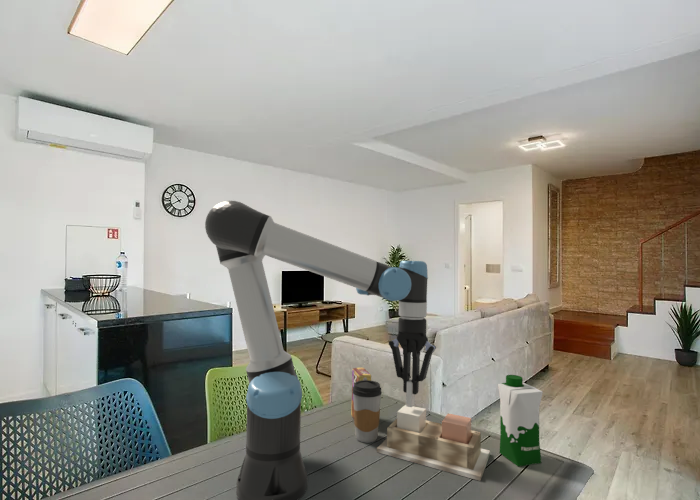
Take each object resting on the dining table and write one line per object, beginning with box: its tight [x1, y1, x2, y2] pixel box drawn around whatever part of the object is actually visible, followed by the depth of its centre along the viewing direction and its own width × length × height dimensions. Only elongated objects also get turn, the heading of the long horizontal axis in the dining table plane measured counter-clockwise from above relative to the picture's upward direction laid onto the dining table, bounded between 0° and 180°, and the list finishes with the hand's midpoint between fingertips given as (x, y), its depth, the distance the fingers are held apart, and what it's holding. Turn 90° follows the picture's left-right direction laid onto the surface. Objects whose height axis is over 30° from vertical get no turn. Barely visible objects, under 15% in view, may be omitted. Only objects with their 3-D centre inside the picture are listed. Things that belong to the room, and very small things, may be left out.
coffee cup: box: [351, 380, 383, 444], centre depth 108 cm, size 8×8×15 cm
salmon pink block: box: [441, 413, 472, 444], centre depth 96 cm, size 6×6×7 cm
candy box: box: [350, 367, 372, 420], centre depth 120 cm, size 9×4×15 cm, turn 13°
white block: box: [396, 404, 427, 433], centre depth 102 cm, size 6×6×7 cm
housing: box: [376, 418, 491, 482], centre depth 99 cm, size 26×14×6 cm, turn 61°
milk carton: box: [497, 374, 544, 467], centre depth 98 cm, size 9×9×20 cm
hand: (410, 405), depth 102 cm, fingers closed
